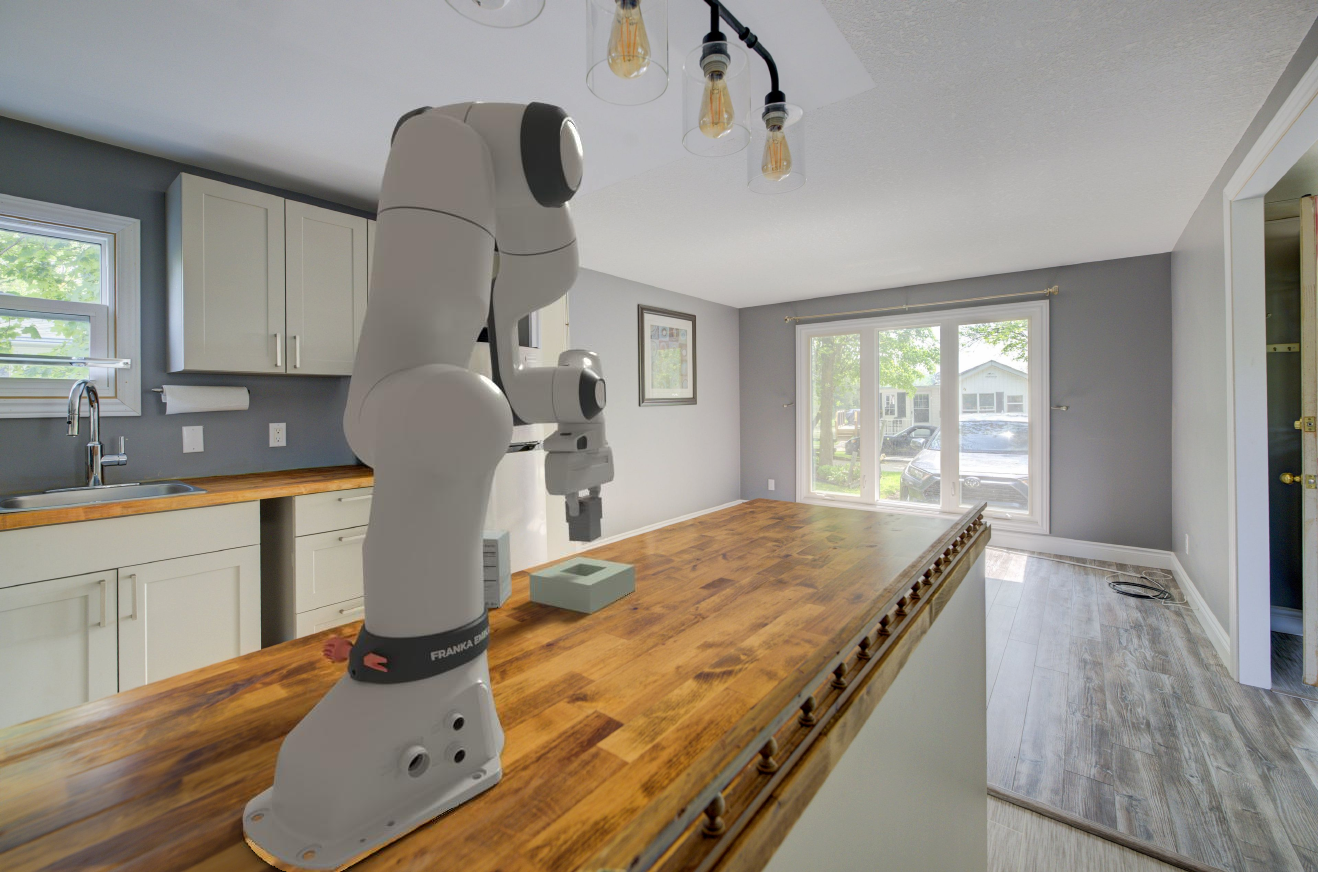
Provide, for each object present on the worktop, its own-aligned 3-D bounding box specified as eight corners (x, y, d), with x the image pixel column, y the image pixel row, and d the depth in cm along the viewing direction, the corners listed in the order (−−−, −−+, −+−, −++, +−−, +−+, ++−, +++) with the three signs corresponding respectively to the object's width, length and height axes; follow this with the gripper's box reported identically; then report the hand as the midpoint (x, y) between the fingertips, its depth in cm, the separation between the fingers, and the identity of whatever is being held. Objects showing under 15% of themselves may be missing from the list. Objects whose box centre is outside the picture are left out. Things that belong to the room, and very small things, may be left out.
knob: (591, 542, 101) (588, 499, 100) (567, 541, 103) (564, 498, 102) (603, 536, 105) (601, 495, 105) (580, 535, 107) (578, 494, 107)
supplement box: (474, 595, 106) (472, 529, 105) (512, 594, 106) (510, 529, 105) (458, 608, 98) (456, 538, 98) (500, 608, 98) (498, 538, 98)
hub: (590, 614, 95) (589, 585, 94) (530, 600, 102) (529, 574, 102) (635, 590, 107) (634, 565, 106) (578, 580, 114) (577, 556, 114)
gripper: (593, 435, 114) (595, 502, 115) (537, 442, 95) (539, 522, 95) (620, 435, 112) (622, 503, 112) (569, 442, 93) (571, 524, 93)
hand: (584, 512), depth 104 cm, fingers closed on knob, 5 cm apart
